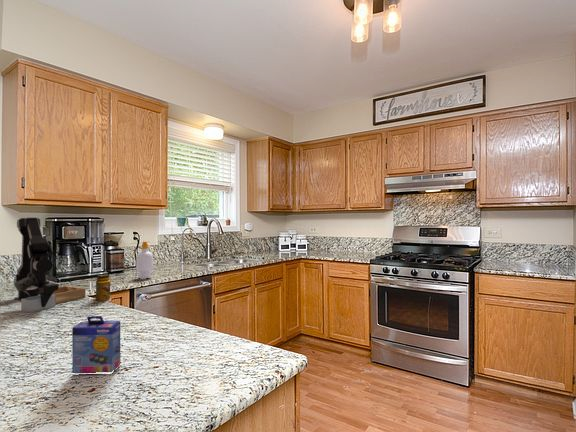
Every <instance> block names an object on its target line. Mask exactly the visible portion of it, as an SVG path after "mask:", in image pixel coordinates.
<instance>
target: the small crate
mask: <svg viewBox="0 0 576 432" xmlns="http://www.w3.org/2000/svg"><path fill="white" fill-rule="evenodd" d="M20 302H21V303H20V309H21V312H26V313H34V312H39V311H42V310H46V309H51V308H55V307H56V304H55V295H51V297H50V299H49V300H48V302H47V304H46V306H45V307H42V305H41V296H40V295H39V296H34V297H29V298H23V299H21V301H20Z"/></svg>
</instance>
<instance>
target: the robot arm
mask: <svg viewBox="0 0 576 432" xmlns="http://www.w3.org/2000/svg"><path fill="white" fill-rule="evenodd" d="M41 226H42V225H41V219H40V218H39V217H20V218H19V219H17V221H16V228H17V230H18V231H19V233H20V234H21V236H22V237H21V260H20V261H21V263H20V264H21V265H20V266H19V267H18V269H17V270H16V274H15V275H14V281H13V286H14V288H15V289H16V291H17V294H18V295H17V297H14V299H15V300H21V299H23V298H29V297H34V296H38V295H40V296H41V305H42V307H45V306H46V304H47V302H48V300H49V299H50V297H51V295H52V294H53V292H55V291H56V290H59V287H60V285H59V284H58V283H54V282H52V283H51V282H50V281H48V280H47V279H48V275H50V271H51V270H52V268H53V262H52V261H51V259H49V258H52V257H53V253H54V252H53V249H52V245H51V244H50V243H49V242H48V239H47V238H45V237H43V234H42V231H41Z"/></svg>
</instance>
